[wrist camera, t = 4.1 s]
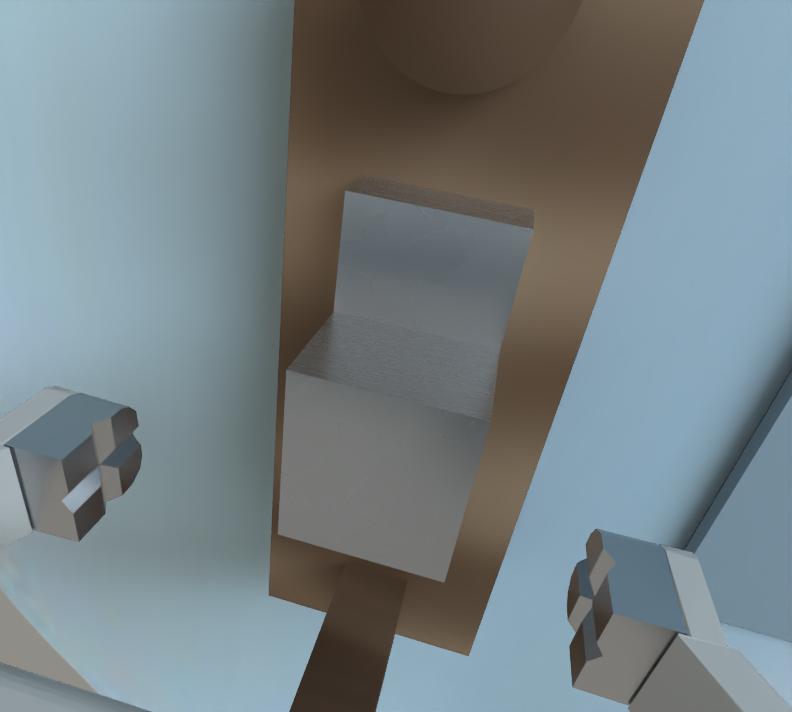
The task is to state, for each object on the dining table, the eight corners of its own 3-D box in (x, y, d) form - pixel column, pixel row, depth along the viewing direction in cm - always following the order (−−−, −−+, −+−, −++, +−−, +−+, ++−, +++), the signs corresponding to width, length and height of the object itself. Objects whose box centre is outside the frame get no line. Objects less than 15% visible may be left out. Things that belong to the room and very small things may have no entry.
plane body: (479, 560, 21) (446, 842, 14) (310, 512, 22) (189, 752, 15) (688, -79, 12) (998, -359, 4) (367, -122, 12) (86, -420, 5)
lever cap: (448, 523, 16) (423, 656, 12) (330, 491, 16) (273, 610, 13) (534, 209, 11) (532, 277, 8) (366, 175, 11) (293, 225, 8)
